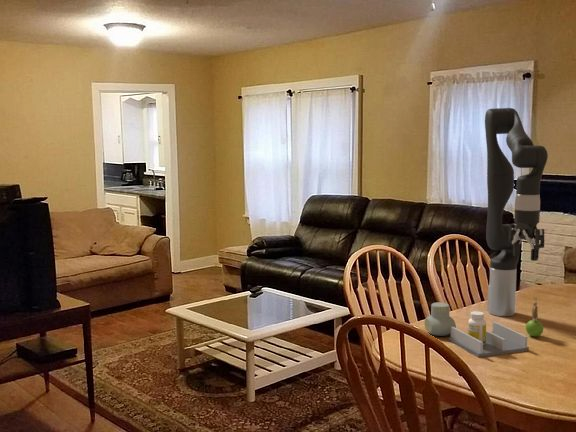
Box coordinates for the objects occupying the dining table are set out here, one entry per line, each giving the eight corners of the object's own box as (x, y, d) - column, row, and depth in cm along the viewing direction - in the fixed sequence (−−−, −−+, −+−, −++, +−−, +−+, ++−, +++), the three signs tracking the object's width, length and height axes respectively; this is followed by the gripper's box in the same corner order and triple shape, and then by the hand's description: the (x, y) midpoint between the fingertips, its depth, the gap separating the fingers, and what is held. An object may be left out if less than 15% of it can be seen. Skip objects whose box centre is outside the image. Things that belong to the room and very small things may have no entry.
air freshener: (422, 329, 207) (423, 300, 206) (445, 328, 208) (446, 299, 207) (433, 339, 197) (433, 309, 195) (457, 338, 197) (458, 308, 196)
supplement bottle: (481, 340, 192) (482, 310, 191) (488, 346, 187) (489, 315, 186) (464, 340, 192) (465, 310, 191) (471, 346, 187) (472, 315, 185)
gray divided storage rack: (448, 340, 195) (448, 326, 195) (496, 334, 201) (496, 321, 200) (478, 357, 180) (478, 342, 180) (528, 350, 186) (529, 336, 185)
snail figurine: (542, 333, 201) (543, 298, 200) (543, 339, 195) (545, 303, 194) (524, 331, 203) (526, 297, 202) (525, 337, 197) (527, 302, 196)
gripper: (552, 210, 188) (550, 261, 190) (522, 205, 201) (520, 253, 204) (532, 211, 186) (530, 263, 188) (503, 206, 199) (501, 254, 201)
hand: (525, 258), depth 196 cm, fingers open, 8 cm apart
